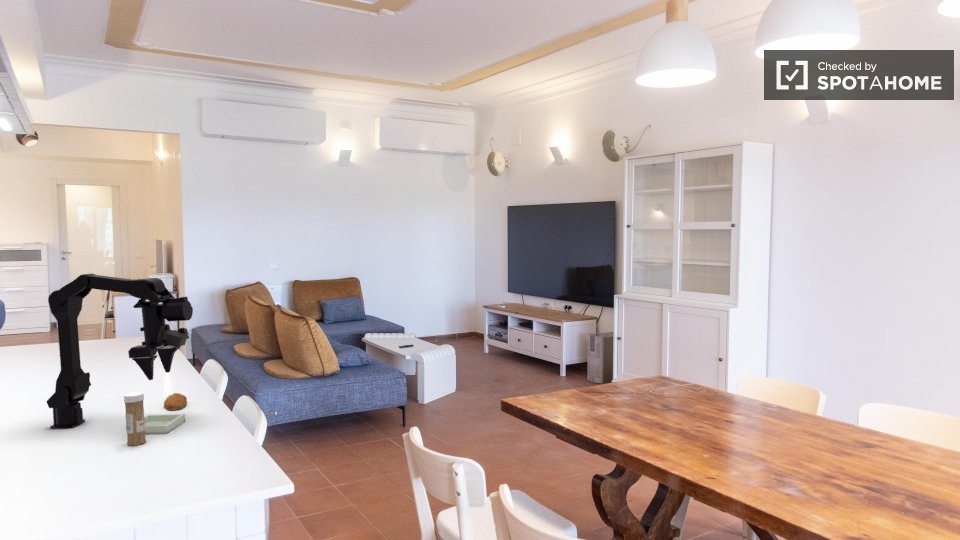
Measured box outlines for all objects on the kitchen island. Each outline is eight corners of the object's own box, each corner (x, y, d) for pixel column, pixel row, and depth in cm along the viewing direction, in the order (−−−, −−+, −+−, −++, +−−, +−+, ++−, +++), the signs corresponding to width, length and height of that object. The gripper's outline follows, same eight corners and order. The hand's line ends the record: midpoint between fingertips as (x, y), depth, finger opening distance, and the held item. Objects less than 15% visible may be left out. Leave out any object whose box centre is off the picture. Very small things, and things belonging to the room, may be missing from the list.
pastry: (187, 410, 203) (187, 398, 203) (163, 413, 200) (163, 401, 200) (186, 402, 212) (186, 391, 211) (163, 405, 209) (163, 394, 208)
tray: (127, 434, 179) (126, 426, 179) (147, 422, 190) (147, 414, 190) (167, 433, 179) (166, 426, 179) (185, 421, 190) (184, 414, 190)
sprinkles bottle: (147, 443, 171) (144, 393, 170) (127, 447, 168) (124, 396, 168) (145, 439, 175) (142, 390, 174) (125, 442, 172) (123, 392, 171)
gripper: (164, 325, 176) (170, 382, 177) (197, 316, 194) (202, 367, 196) (124, 328, 176) (130, 384, 177) (160, 318, 195) (166, 369, 196)
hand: (159, 376), depth 187 cm, fingers open, 9 cm apart
